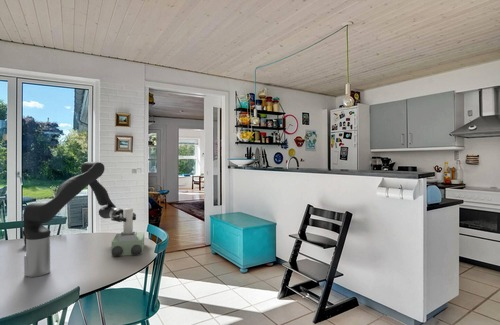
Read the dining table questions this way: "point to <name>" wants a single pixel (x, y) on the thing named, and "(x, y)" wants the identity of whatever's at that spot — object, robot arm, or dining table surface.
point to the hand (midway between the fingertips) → (130, 219)
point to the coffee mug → (24, 237)
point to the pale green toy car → (128, 244)
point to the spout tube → (128, 221)
